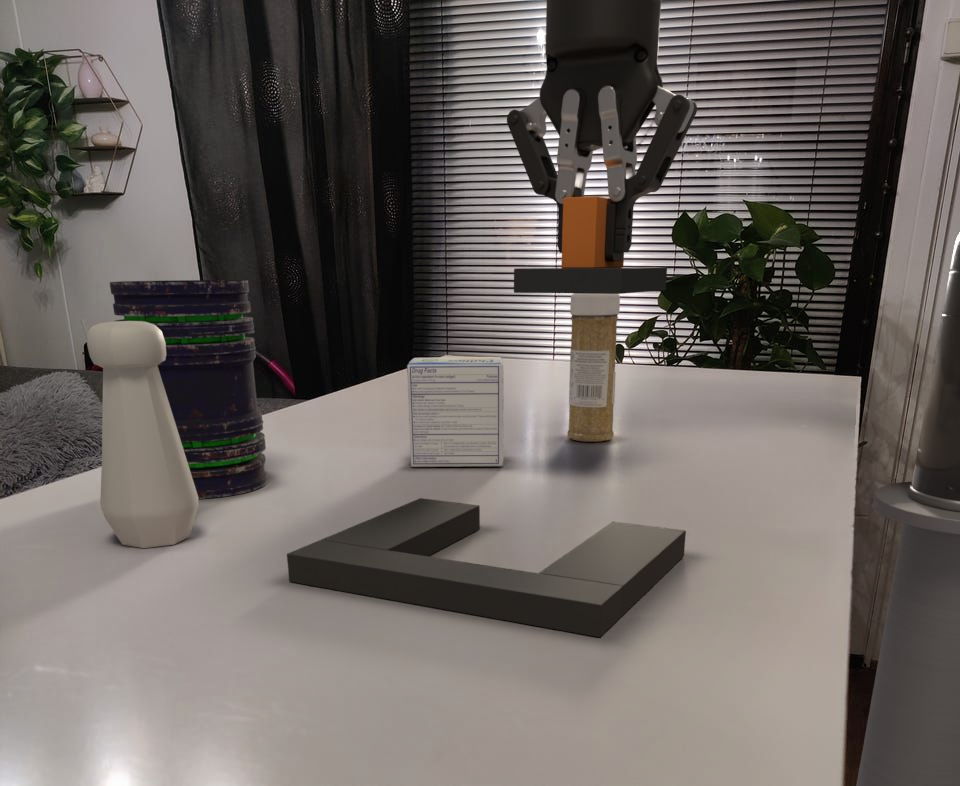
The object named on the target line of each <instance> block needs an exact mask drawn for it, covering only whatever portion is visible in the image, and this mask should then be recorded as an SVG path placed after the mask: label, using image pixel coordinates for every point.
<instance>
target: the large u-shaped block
mask: <svg viewBox="0 0 960 786" xmlns="http://www.w3.org/2000/svg"><path fill="white" fill-rule="evenodd" d="M480 508H481V506H480V505H478V504H471V503H463V502H455V501H448V500H440V499H439V500H438V499H430V498H423V497H422V498H421V497H420V498H418V499H414V500H413V501H410V502H408V503H406V504H403V505H400V506H398V507H396V508H394V509H391V510H389V511H386V512H384V513H381V514H378V515H377V516H375V517H372V518H370V519H367V520H365V521H362V522H360V523H357V524H355V525H353V526H350V527H348V528H346V529H343V530H341V531H338V532H336V533H334V534H331V535H329V536H326V537H324V538H322V539H319V540H317V541H313V542H312V543H309V544H307V545H305V546H303V547H300V548H297V549H295V550H292V551H291V552H287V554H286V562H287V571H288V580H289V581H288V582H290V583H296V584H301V585H306V586H307V585H308V586H313V587H319V588H323V589H330V590H335V591H341V592H345V593H351V594H357V595H363V596H368V597H373V598H380V599H386V600H391V601H395V602H401V603H407V604H413V605H418V606H424V607H430V608H433V609H434V608H435V609H439V610H446V611H450V612H455V613H462V614H467V615H474V616H478V617H479V616H480V617H484V618H489V619H490V618H491V619H495V620H501V621H506V622H511V623H512V622H513V623H517V624H518V623H519V624H523V625H528V626H535V627H540V628H545V629H551V630H556V631H563V632H569V633H574V634H578V635H579V634H580V635H585V636H590V637H595V638H601V637H602V636H603V635H604V634H606V632H607V631H608V630H609V629H611V627H612V626H614V624H616V623H617V622H618V621H619V620H620V619H621V618H622V617H623V616H624V615H625V614H626V613H627V612H628V611H629V610H630V609H631V608H632V607H633V606H634V605H635V604H636V603H637V602H638V601H639V600H641V598H642V597H643V596H644V595H645V594H647V592H649V591H650V590H651V588H652V587H654V586H655V585H656V584H657V583H658V582H659V581H660V580H661V579H662V578H663V577H664V576H665V575H666V574H667V573H668V572H669V571H670V570H671V569H672V568H673V567H674V566H675V565H676V564H677V563H679V561H680V560H682V559H683V558H684V556H685V549H686V548H685V547H686V535H687V531H686V530H685V529H679V528H671V527H670V528H669V527H662V526H655V525H654V526H653V525H646V524H636V523H629V522H620V521H612V522H610V523H609V524H607V525H606V526H604V527H603V528H602V529H600V530H599V531H597V532H596V533H594V534H592V535H591V536H590V537H588V538H587V539H586V540H583V542H581V543H580V544H578V545H577V546H575V547H574V548H572V549H571V550H569V551H568V552H567V553H565V554H563V556H561V557H559V558H558V559H557V560H555V561H554V562H552V563H551V564H549V565H548V566H547V567H545V568H543V569H542V570H541V571H539V572H533V571H526V570H520V569H515V568H514V569H513V568H507V567H500V566H493V565H487V564H480V563H475V562H474V563H473V562H466V561H461V560H453V559H448V558H440V557H434V556H432V555H433V554H435V553H437V552H438V551H441V550H443V549H444V548H447V547H448V546H450V545H452V544H454V543H456V542H458V541H460V540H461V539H464V538H465V537H468V536H469V535H472V534H473V533H475V532H477V531H479V530H480V528H481V521H480V519H481V517H480V516H481V513H480V512H481V511H480V510H481V509H480Z"/></svg>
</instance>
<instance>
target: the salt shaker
mask: <svg viewBox="0 0 960 786" xmlns="http://www.w3.org/2000/svg"><path fill="white" fill-rule="evenodd" d="M114 321H115V320H114ZM114 321H107V322H100V323H97V324H94V325H92V326H91V327H90V329H88V331H87V333H86V334H87V335H86V346H87V351H88V354H89V355H88V356H89V358H90V359H91V362H92V363H93V365H95V366H98V367H100V368H102V413H101V414H102V417H101V418H102V420H101V421H102V424H101V428H102V430H101V471H100V472H101V473H100V475H101V476H100V498H99V499H100V500H99V501H100V508H101V511H102V515H103V517H104V519H105V520H106V522H107V523H108V525H109V526H110V528H111V529H112V531H113V532H114V534H115V536H116V537H117V539H118V540H119V542H120V543H121V545H123V546H129V547H134V548H140V549H149V548H156V547H157V548H158V547H165V546H166V547H167V546H173V545H174V546H175V545H176V544H178V543H180V542H182V541H184V540H187V539H189V538H190V537H191V535H192V531H193V528H194V523H195V520H196V516H197V512H198V509H199V499H198V495H197V491H196V488H195V485H194V482H193V478H192V475H191V472H190V469H189V466H188V462H187V459H186V456H185V453H184V449H183V446H182V443H181V440H180V437H179V433H178V430H177V427H176V424H175V421H174V417H173V414H172V411H171V408H170V404H169V401H168V398H167V395H166V392H165V388H164V385H163V382H162V379H161V375H160V372H159V369H158V366H157V365H158V364H160V363H162V362H163V361H165V359H166V344H165V340H164V337H163V333H162V331H161V330H160V329H159V328H158V327H157V326H156V325H154V324H151V323H148V322H143V321H115V322H114Z"/></svg>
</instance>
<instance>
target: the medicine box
mask: <svg viewBox="0 0 960 786" xmlns="http://www.w3.org/2000/svg"><path fill="white" fill-rule="evenodd" d="M504 371H505V370H504V359H503V358H502V357H501V356H443V357H442V356H439V357H433V356H432V357H413V358H412V359H411V360H409V362H408V364H406V373H407V393H408V421H409V422H408V423H409V441H410V444H409V445H410V466H411V467H412V468H438V467H440V468H442V467H445V468H446V467H447V468H448V467H449V468H450V467H451V468H453V467H455V468H456V467H458V468H459V467H461V468H462V467H465V468H466V467H503V466H504V453H505V452H504V449H505V448H504V447H505V444H504V443H505V433H504V431H505V428H504V427H505V426H504V425H505V421H504V420H505V399H504V398H505V388H504V387H505V385H504V384H505V380H504V379H505V377H504V376H505V375H504Z"/></svg>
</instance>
